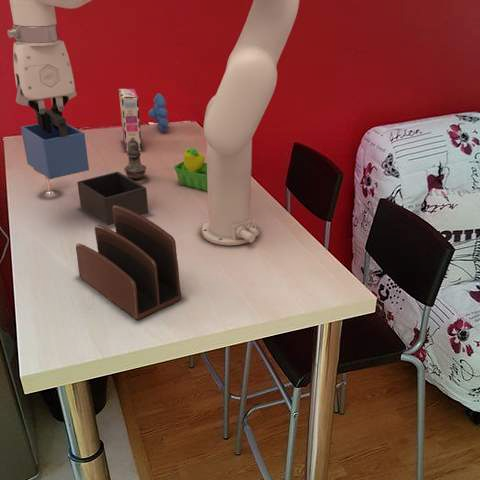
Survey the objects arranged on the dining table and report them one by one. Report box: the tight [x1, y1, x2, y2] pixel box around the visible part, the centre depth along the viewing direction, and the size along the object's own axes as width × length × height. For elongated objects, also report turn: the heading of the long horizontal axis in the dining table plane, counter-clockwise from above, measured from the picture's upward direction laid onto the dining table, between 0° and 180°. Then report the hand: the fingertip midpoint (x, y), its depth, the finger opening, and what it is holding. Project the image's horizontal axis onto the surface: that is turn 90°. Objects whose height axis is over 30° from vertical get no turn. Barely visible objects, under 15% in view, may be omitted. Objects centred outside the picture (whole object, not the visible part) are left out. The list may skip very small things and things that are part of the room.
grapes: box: [147, 92, 170, 133], centre depth 191 cm, size 12×7×12 cm, turn 22°
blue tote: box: [20, 107, 90, 180], centre depth 119 cm, size 11×9×12 cm
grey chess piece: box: [123, 137, 147, 181], centre depth 153 cm, size 6×6×12 cm
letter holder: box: [75, 205, 182, 321], centre depth 107 cm, size 10×20×14 cm, turn 46°
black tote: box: [77, 171, 149, 226], centre depth 137 cm, size 13×11×7 cm
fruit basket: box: [173, 147, 208, 192], centre depth 152 cm, size 11×9×11 cm
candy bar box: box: [118, 88, 143, 153], centre depth 176 cm, size 11×5×16 cm, turn 17°
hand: (52, 130), depth 118 cm, fingers closed on blue tote
